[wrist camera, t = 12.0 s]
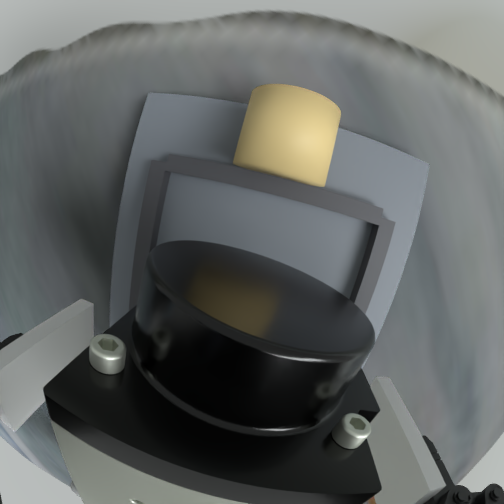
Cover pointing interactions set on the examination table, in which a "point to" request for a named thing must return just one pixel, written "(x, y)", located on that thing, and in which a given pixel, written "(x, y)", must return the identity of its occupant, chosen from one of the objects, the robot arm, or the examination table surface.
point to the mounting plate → (269, 192)
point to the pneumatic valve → (221, 389)
